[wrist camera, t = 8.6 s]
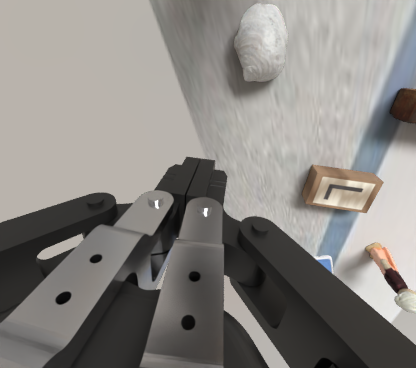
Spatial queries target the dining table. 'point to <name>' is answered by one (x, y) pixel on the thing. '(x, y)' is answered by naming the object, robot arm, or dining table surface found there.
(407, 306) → the grandmother figurine
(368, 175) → the marked cardboard box
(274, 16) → the white seashell
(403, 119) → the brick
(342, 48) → the dining table surface
